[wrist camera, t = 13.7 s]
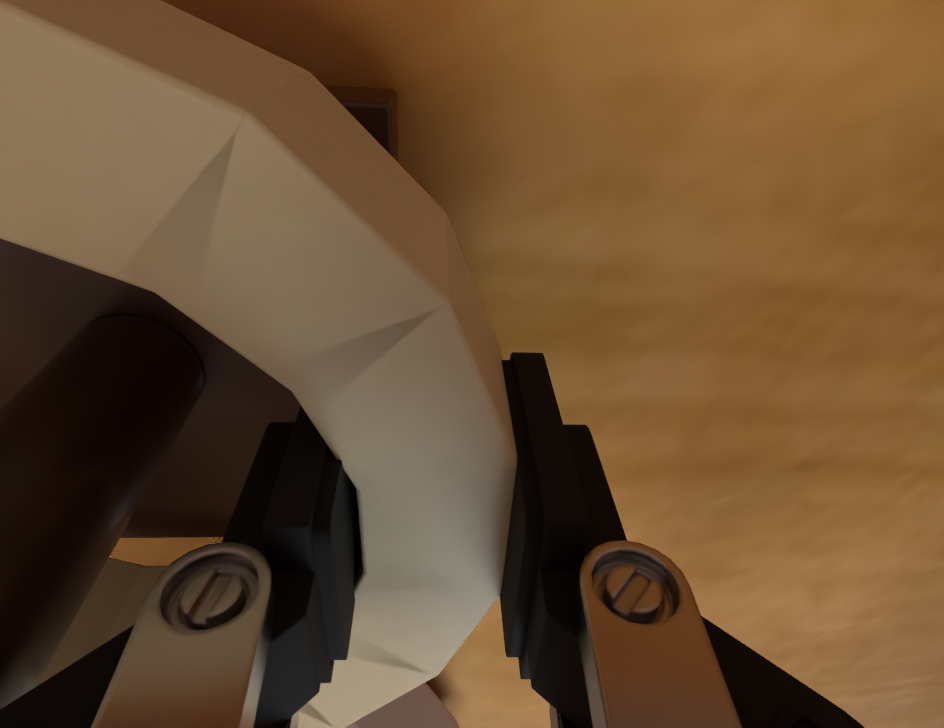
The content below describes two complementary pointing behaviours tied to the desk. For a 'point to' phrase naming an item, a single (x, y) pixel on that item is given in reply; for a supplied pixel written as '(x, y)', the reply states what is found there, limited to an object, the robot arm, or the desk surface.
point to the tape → (276, 299)
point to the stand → (116, 428)
